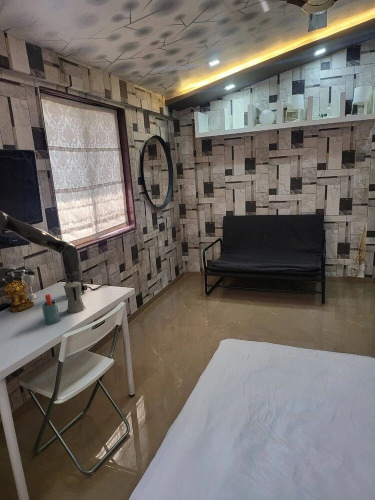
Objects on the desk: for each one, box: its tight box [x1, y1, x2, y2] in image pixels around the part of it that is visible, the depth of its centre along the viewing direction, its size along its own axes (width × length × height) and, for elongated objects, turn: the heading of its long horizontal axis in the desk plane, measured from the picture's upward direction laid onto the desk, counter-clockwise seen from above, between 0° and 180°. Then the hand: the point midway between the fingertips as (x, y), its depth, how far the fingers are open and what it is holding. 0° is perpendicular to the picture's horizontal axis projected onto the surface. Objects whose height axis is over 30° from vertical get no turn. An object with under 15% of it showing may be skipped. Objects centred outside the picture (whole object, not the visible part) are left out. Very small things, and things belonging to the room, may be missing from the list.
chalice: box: [22, 268, 37, 300], centre depth 206 cm, size 7×7×18 cm
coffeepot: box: [63, 279, 85, 314], centre depth 183 cm, size 15×9×18 cm, turn 25°
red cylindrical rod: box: [44, 293, 52, 306], centre depth 171 cm, size 2×2×14 cm
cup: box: [41, 300, 61, 325], centre depth 172 cm, size 7×7×10 cm
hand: (27, 275), depth 171 cm, fingers open, 8 cm apart
